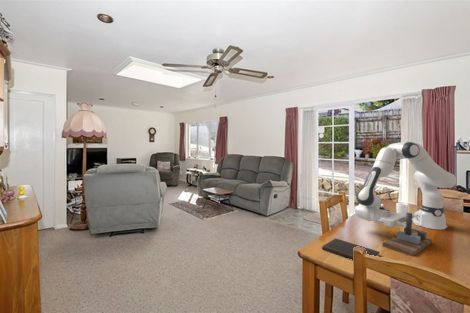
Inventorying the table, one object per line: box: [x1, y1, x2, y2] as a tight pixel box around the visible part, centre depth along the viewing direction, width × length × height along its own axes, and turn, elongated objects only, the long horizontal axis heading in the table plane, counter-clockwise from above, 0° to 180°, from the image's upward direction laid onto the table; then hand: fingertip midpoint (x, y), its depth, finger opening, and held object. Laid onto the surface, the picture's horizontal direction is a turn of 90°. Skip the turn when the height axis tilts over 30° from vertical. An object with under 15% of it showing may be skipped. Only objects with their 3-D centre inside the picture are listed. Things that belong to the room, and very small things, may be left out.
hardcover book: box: [321, 238, 381, 261], centre depth 121 cm, size 16×23×2 cm
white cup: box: [395, 201, 409, 215], centre depth 183 cm, size 8×8×10 cm
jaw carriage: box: [396, 212, 421, 244], centre depth 130 cm, size 4×10×16 cm, turn 35°
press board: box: [382, 227, 432, 257], centre depth 130 cm, size 28×14×6 cm, turn 125°
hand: (409, 223), depth 130 cm, fingers open, 8 cm apart
